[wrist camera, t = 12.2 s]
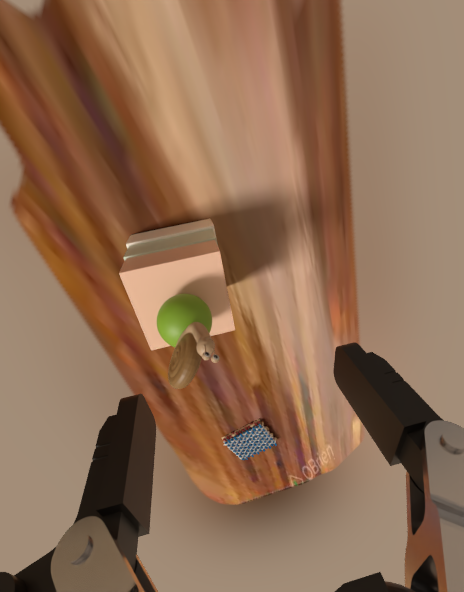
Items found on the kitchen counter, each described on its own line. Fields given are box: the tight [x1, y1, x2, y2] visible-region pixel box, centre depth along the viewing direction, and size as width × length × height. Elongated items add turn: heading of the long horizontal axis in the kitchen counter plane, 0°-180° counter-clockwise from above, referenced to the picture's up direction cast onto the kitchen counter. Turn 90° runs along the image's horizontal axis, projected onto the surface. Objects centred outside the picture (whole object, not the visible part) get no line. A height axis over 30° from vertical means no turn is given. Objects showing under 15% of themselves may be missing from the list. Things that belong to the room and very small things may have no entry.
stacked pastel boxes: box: [119, 218, 235, 350], centre depth 34 cm, size 11×11×12 cm
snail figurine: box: [157, 294, 219, 389], centre depth 23 cm, size 5×6×12 cm
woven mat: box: [222, 419, 277, 460], centre depth 62 cm, size 10×11×2 cm
